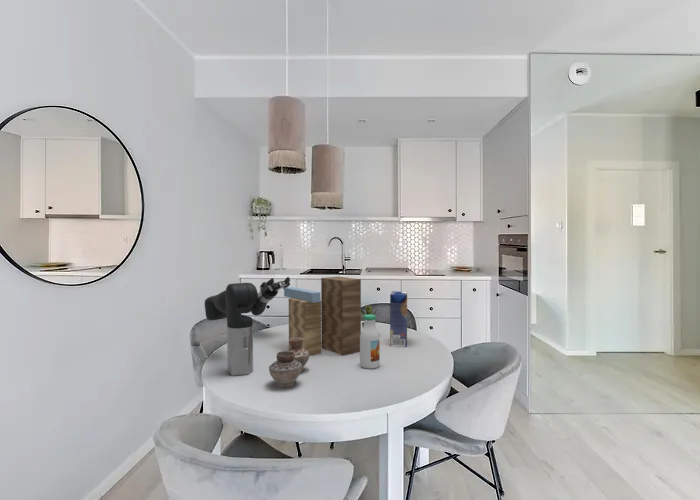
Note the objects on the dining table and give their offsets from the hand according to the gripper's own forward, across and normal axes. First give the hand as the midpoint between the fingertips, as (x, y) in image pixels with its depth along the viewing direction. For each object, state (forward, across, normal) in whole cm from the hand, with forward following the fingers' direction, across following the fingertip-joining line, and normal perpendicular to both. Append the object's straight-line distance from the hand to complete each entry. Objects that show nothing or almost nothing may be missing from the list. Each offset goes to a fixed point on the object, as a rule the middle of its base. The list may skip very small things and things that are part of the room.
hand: (281, 279), depth 188 cm
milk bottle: (+31, +10, +53) cm, 62 cm away
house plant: (-2, +42, +34) cm, 54 cm away
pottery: (+23, -21, +49) cm, 58 cm away
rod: (+12, 0, +15) cm, 19 cm away
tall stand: (+9, +15, +40) cm, 44 cm away
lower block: (+2, 0, +36) cm, 37 cm away
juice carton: (+17, +42, +45) cm, 64 cm away
